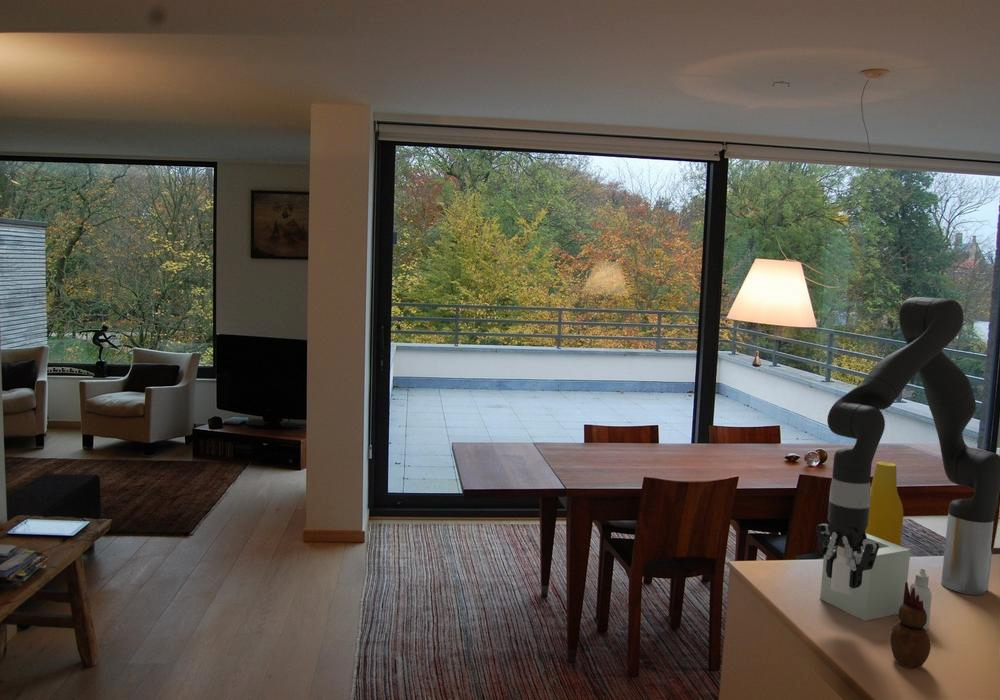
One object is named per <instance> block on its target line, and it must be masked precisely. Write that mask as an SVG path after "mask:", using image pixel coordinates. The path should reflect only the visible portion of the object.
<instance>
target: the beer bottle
mask: <svg viewBox="0 0 1000 700" xmlns="http://www.w3.org/2000/svg"><path fill="white" fill-rule="evenodd" d="M897 485H898V484H897V464H896V463H893V462H889V461H877V462H876V464H875V468H874V472H873V477H872V482H871V484H870V490H871V496H870V508H869V520H868V526H867V528H866V530H865V533H866V534H869V535H872V536H875V537H877V538H880V539H883V540H885V541H888V542H891V543H893V544H896V545H899V546H901V542H902V534H903V533H902V532H903V522H904V507H903V504H902V501H901V498H900V496H899V493H898V488H897V487H898V486H897Z"/></svg>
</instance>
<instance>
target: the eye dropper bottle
mask: <svg viewBox="0 0 1000 700" xmlns="http://www.w3.org/2000/svg"><path fill="white" fill-rule="evenodd" d="M929 579H930V576H929V575H927V573H926V568H924V567H922V568H920V571H919V572H916V573H915V578H914V583H911V584H910V587H909V594H910V595H911V592H912V588H915V599H916V596H917V595H919V602H920V601H923V607H924V609H925V611H926V614H927V622H926V624H925V626H924V627H923V628H924V629H925V630H928V629H929V626H930V619H931V618H930V617H931V608H932V595H933V594H932V591H931V589H930V588H929Z"/></svg>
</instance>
